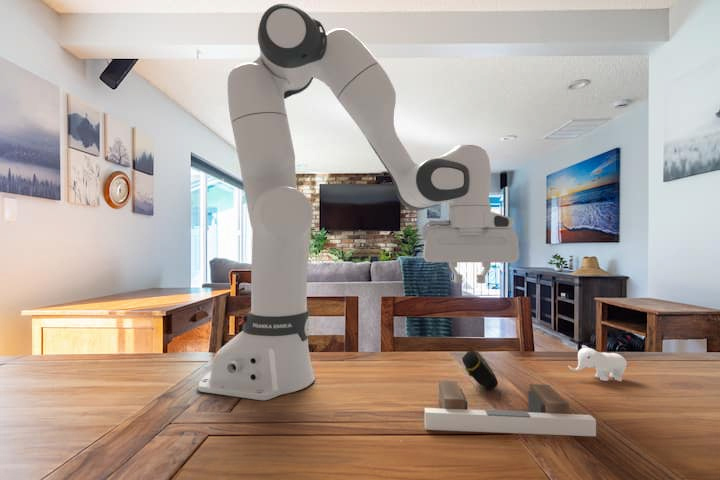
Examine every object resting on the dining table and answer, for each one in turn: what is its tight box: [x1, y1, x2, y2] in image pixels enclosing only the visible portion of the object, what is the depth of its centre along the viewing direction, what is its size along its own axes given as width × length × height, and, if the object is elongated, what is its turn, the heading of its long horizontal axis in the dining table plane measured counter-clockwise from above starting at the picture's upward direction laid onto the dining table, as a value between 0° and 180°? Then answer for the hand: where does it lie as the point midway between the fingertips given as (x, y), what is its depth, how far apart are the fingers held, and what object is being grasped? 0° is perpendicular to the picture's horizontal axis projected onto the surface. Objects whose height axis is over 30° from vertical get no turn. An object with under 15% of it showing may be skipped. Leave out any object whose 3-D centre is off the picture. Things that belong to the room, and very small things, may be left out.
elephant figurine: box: [567, 344, 628, 382], centre depth 74 cm, size 7×12×6 cm, turn 90°
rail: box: [424, 380, 597, 437], centre depth 57 cm, size 24×8×4 cm, turn 84°
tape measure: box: [461, 349, 499, 390], centre depth 70 cm, size 7×7×4 cm
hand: (469, 282), depth 80 cm, fingers open, 3 cm apart
